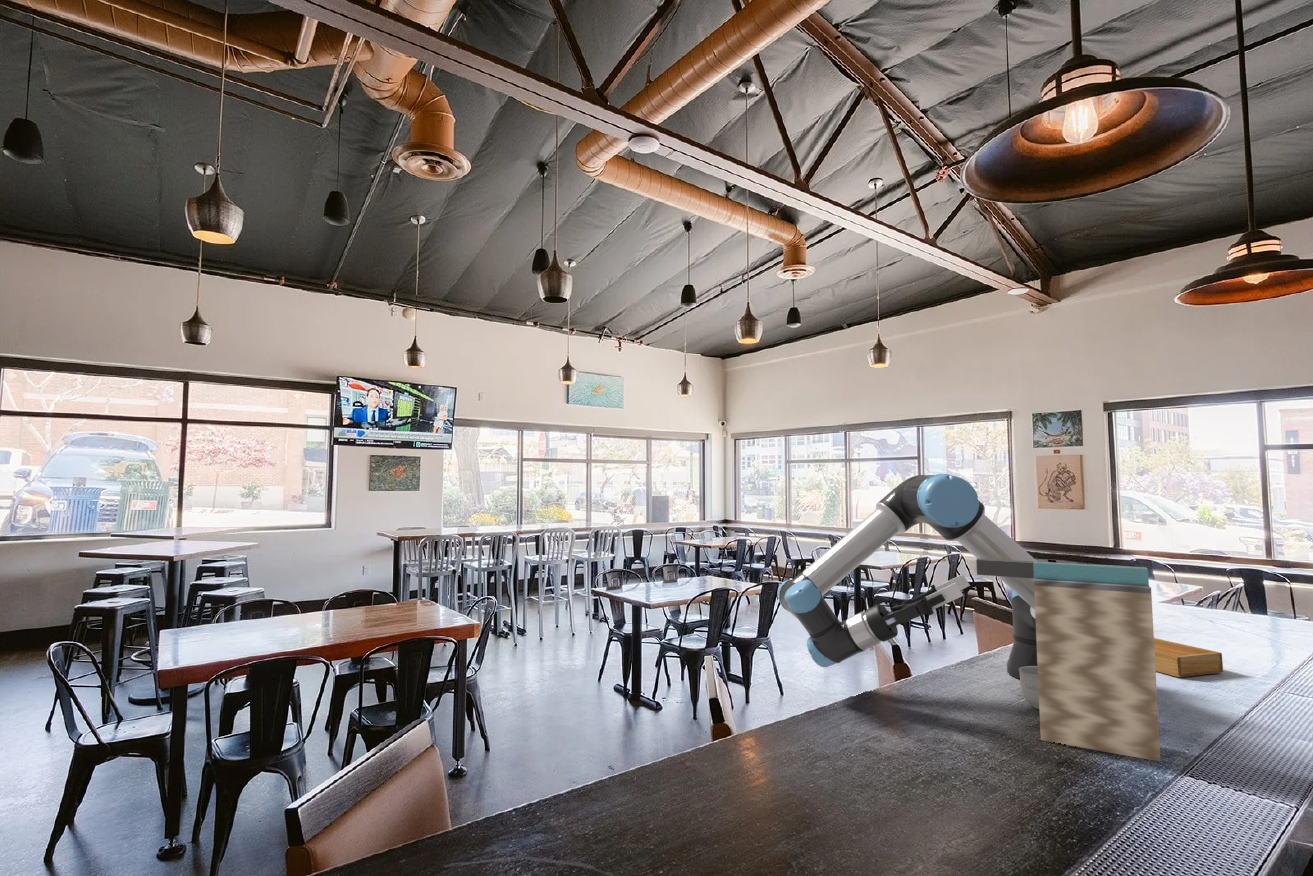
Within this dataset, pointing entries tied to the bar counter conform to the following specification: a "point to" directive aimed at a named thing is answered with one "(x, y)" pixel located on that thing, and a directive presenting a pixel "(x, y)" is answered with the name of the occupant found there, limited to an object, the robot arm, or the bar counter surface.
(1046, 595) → the pedestal
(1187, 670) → the tray
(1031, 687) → the teacup
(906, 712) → the bar counter surface
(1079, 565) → the teal and grey bar
